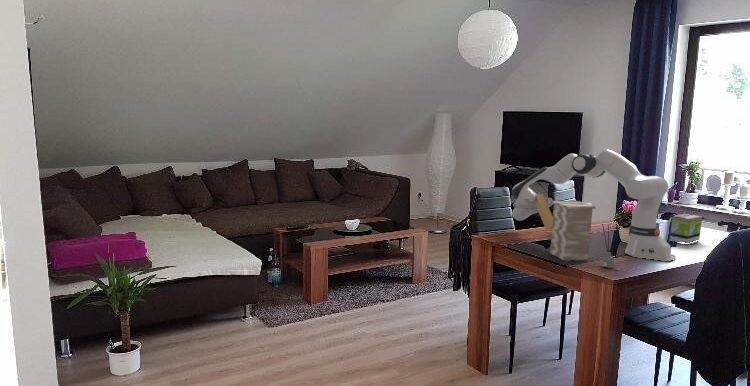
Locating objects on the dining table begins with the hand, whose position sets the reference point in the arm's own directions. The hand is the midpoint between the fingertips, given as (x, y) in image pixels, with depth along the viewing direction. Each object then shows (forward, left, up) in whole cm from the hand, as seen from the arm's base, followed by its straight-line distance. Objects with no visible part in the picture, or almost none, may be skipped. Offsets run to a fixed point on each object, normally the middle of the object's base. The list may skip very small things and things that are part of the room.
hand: (540, 197), depth 297 cm
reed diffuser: (-46, +27, -24) cm, 58 cm away
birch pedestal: (-25, +21, -23) cm, 40 cm away
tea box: (-61, -56, -24) cm, 86 cm away
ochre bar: (-4, +3, -8) cm, 10 cm away
